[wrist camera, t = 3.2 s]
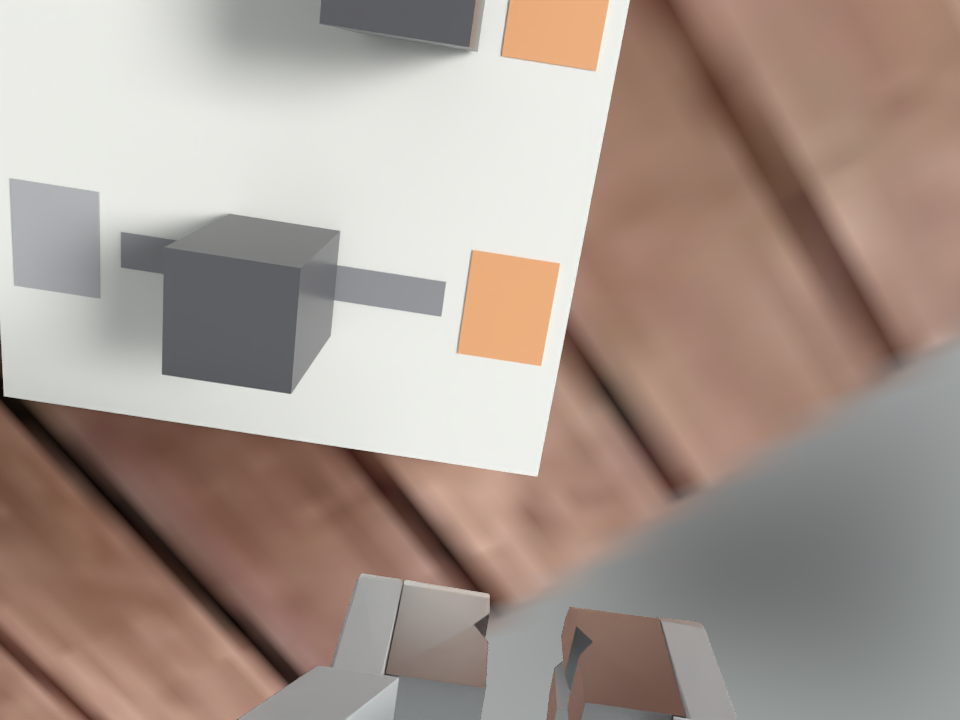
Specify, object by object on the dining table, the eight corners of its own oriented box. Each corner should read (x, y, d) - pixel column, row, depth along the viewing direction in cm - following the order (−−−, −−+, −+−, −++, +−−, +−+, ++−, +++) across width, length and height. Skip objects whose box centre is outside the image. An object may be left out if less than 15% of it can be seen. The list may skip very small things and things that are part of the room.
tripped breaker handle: (224, 319, 23) (161, 374, 19) (229, 213, 22) (164, 247, 18) (330, 335, 23) (291, 393, 19) (340, 230, 22) (300, 268, 18)
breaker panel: (56, 362, 27) (2, 396, 24) (38, -290, 21) (-37, -346, 18) (534, 434, 27) (537, 477, 24) (652, -189, 21) (674, -229, 18)
